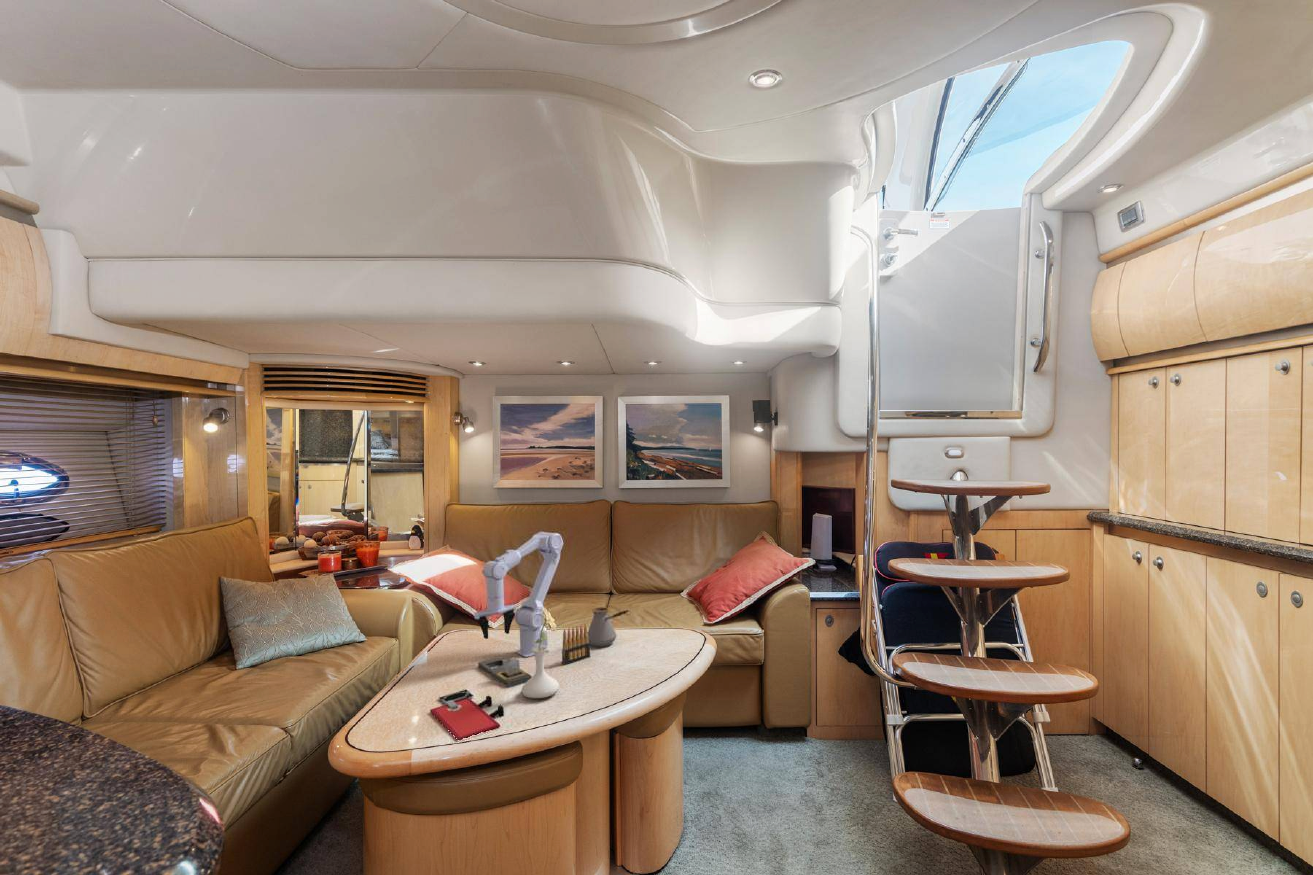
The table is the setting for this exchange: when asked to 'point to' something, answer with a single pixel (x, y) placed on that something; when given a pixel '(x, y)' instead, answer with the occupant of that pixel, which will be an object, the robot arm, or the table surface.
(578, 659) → the ammunition clip
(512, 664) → the grey rectangular block
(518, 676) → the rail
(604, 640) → the coffee pot
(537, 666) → the flower in vase
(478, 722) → the red board with handle
